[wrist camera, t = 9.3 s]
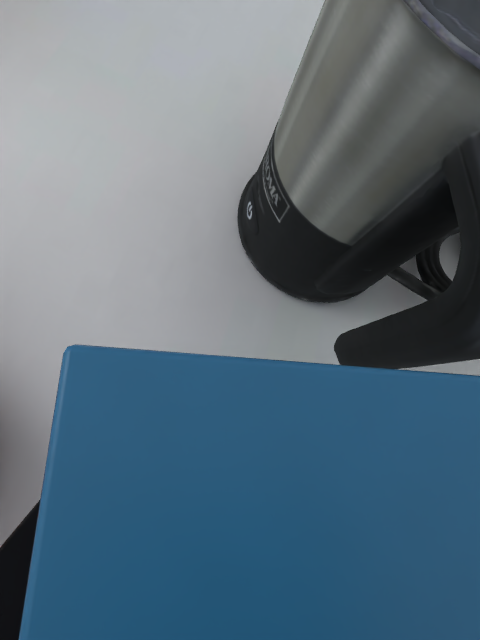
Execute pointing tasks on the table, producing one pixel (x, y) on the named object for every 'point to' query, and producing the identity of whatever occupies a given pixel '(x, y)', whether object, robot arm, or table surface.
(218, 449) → the blue rectangular block
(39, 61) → the table surface
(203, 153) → the table surface
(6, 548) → the robot arm
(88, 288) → the table surface
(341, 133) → the milk frother
